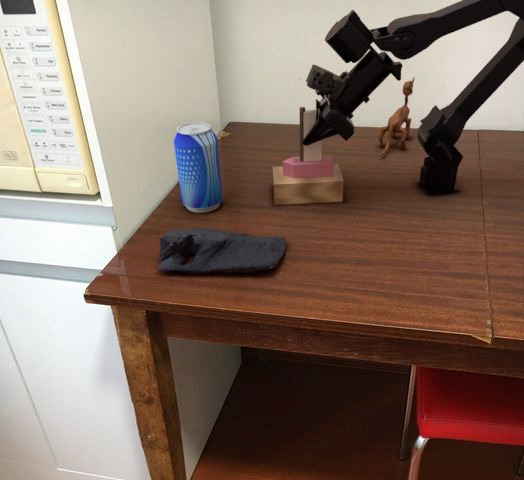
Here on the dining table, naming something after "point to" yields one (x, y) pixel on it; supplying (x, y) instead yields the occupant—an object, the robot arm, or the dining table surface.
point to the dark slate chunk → (219, 251)
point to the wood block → (307, 188)
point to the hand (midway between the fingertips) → (303, 142)
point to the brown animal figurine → (398, 120)
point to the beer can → (198, 167)
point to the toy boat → (308, 153)
